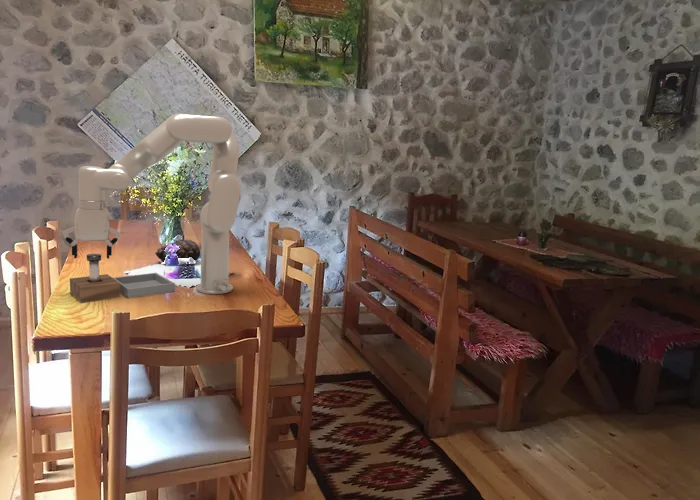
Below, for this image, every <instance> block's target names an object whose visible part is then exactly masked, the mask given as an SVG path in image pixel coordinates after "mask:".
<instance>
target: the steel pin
mask: <svg viewBox="0 0 700 500" xmlns="http://www.w3.org/2000/svg"><path fill="white" fill-rule="evenodd" d="M85 257H86V261H87V262H88V270H89V273H88V274H89V275H88V276H90V283H94V282H100V276H99V275H100V262H101V260H102V254H101V253H88V254H86V256H85Z"/></svg>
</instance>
